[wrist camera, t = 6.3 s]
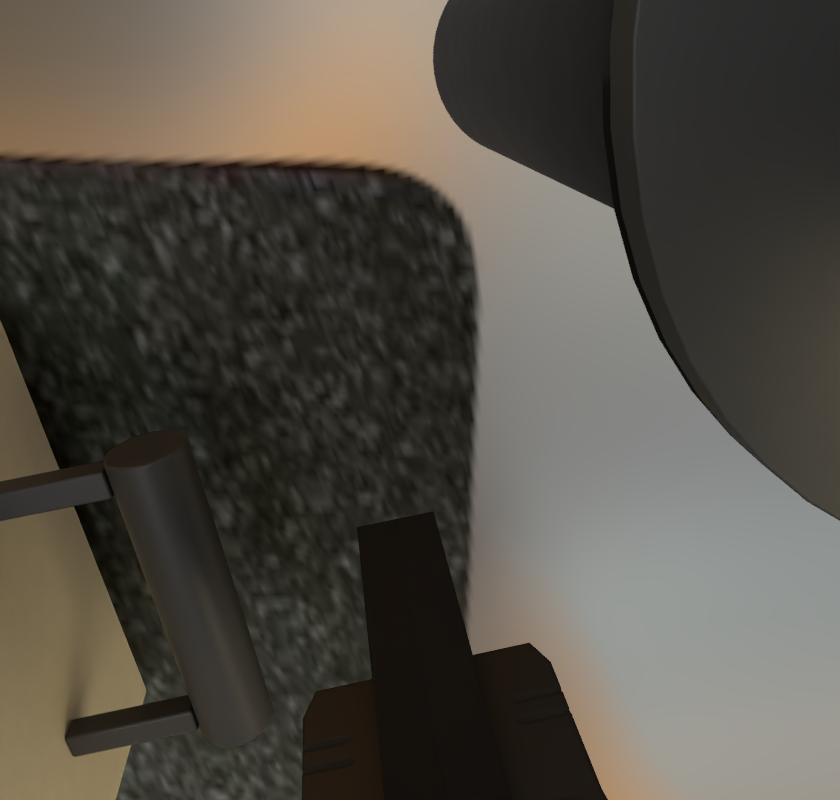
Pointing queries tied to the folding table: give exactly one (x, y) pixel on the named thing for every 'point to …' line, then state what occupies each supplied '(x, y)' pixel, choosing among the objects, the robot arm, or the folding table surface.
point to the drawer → (108, 611)
